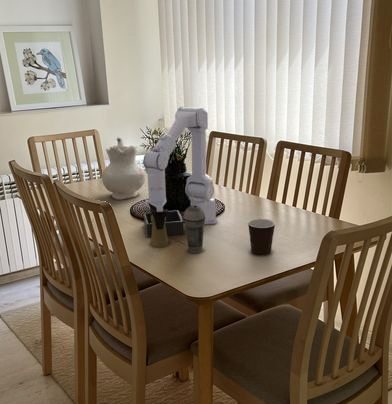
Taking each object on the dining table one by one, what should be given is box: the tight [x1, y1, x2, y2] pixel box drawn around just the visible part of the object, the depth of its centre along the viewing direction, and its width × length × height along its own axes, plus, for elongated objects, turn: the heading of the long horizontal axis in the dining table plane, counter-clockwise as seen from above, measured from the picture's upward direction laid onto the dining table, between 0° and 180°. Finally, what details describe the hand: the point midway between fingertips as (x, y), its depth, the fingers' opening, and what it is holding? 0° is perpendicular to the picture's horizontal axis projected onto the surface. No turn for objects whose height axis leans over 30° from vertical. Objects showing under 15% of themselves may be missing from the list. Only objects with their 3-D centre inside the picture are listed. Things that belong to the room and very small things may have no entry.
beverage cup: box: [182, 192, 205, 254], centre depth 180 cm, size 7×7×20 cm
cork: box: [150, 215, 169, 248], centre depth 188 cm, size 6×6×11 cm
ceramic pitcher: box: [101, 136, 146, 201], centre depth 244 cm, size 22×20×25 cm
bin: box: [143, 209, 185, 238], centre depth 202 cm, size 13×13×5 cm
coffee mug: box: [248, 218, 276, 257], centre depth 180 cm, size 12×9×10 cm
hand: (158, 225), depth 187 cm, fingers open, 7 cm apart
